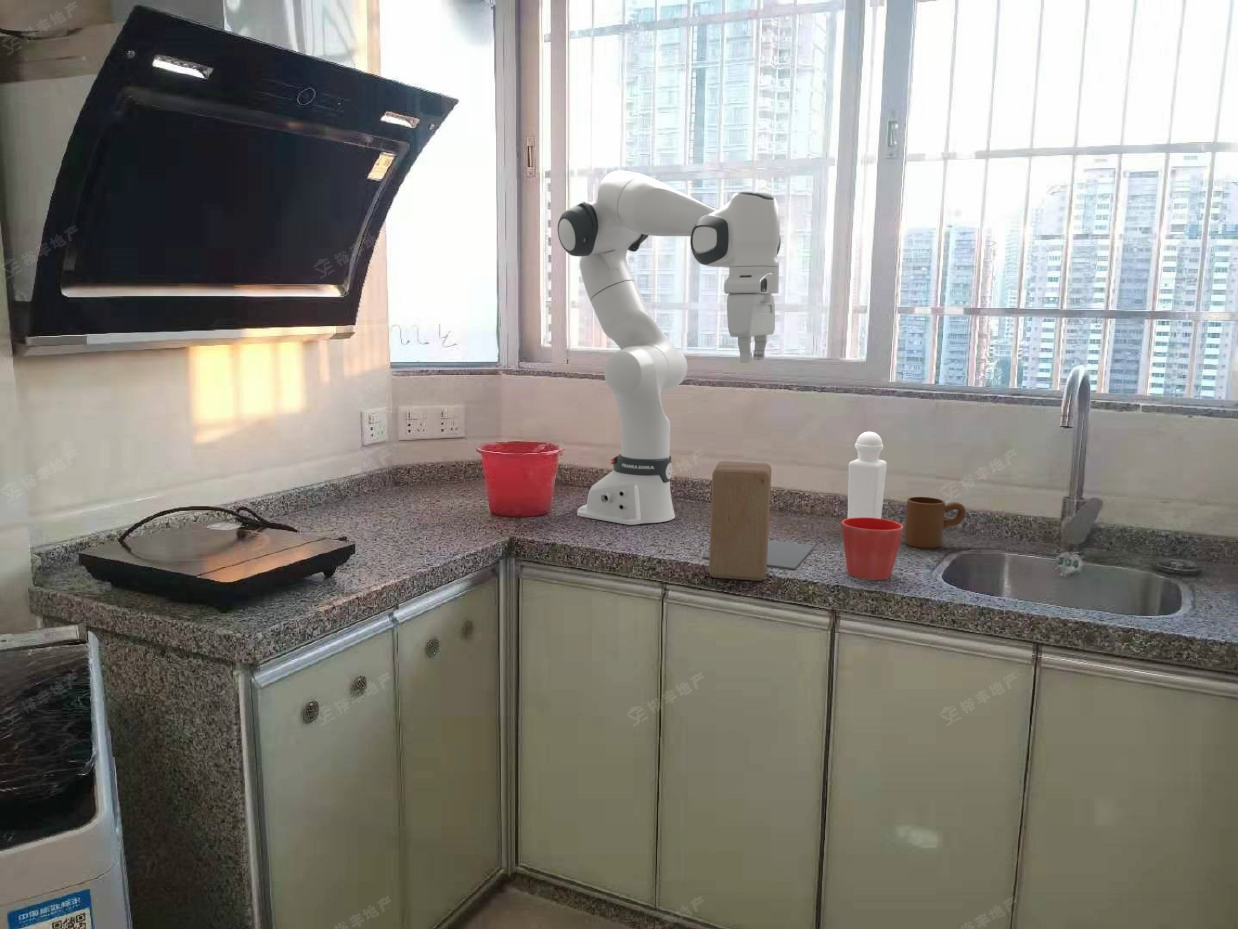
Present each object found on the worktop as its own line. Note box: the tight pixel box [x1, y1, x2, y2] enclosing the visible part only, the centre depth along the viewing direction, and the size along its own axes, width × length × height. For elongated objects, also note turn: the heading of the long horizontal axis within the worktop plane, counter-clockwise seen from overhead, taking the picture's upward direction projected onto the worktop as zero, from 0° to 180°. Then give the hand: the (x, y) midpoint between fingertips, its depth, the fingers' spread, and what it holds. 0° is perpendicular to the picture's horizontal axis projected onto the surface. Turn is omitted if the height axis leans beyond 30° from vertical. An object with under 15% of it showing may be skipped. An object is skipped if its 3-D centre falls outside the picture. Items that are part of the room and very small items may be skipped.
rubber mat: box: [702, 539, 815, 571], centre depth 188 cm, size 18×18×1 cm
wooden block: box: [708, 460, 772, 582], centre depth 172 cm, size 10×10×20 cm
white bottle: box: [847, 431, 888, 519], centre depth 205 cm, size 6×6×22 cm
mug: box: [903, 496, 967, 550], centre depth 196 cm, size 12×8×9 cm, turn 87°
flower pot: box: [841, 517, 905, 581], centre depth 174 cm, size 11×11×10 cm
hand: (752, 361), depth 172 cm, fingers open, 8 cm apart
